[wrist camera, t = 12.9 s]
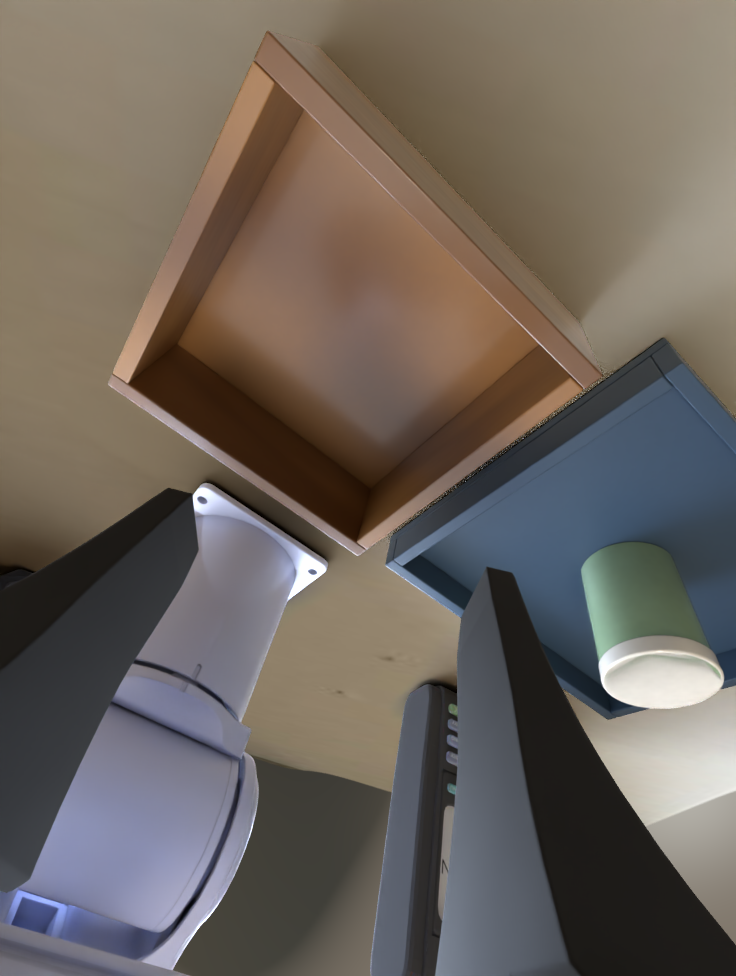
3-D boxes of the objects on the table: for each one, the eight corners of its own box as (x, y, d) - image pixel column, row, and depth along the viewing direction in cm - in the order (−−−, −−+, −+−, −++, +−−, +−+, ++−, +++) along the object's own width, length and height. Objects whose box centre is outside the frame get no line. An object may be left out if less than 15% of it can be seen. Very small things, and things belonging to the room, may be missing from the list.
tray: (601, 687, 29) (607, 720, 28) (390, 536, 24) (384, 565, 23) (892, 596, 21) (924, 635, 19) (663, 336, 16) (683, 362, 14)
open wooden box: (374, 495, 23) (358, 557, 20) (164, 339, 19) (106, 384, 16) (580, 323, 16) (604, 376, 13) (316, 43, 13) (266, 28, 10)
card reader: (539, 727, 34) (569, 1051, 22) (499, 742, 36) (509, 1041, 25) (435, 673, 32) (410, 1000, 20) (401, 693, 34) (361, 994, 23)
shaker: (613, 610, 24) (641, 718, 20) (560, 567, 23) (578, 673, 19) (696, 575, 22) (748, 691, 17) (642, 526, 20) (684, 637, 16)
